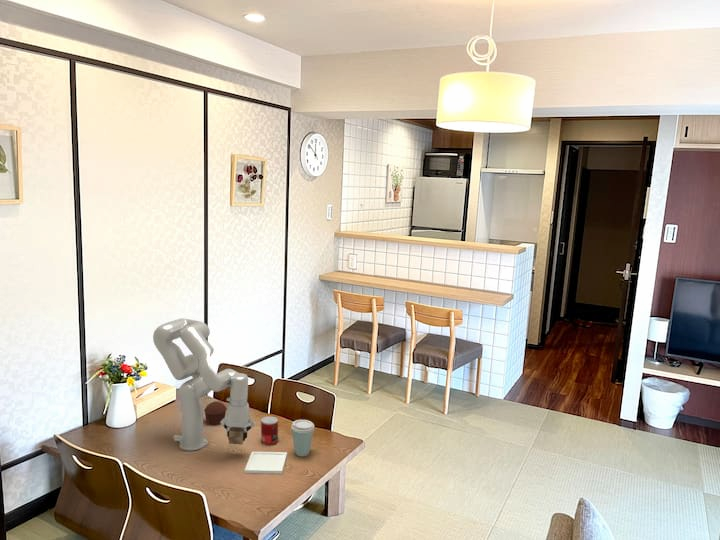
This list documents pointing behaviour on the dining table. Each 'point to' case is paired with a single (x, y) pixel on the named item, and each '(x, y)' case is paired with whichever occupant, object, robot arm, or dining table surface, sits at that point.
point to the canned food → (269, 430)
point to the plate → (266, 462)
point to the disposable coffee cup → (302, 436)
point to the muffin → (215, 413)
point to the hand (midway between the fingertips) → (237, 438)
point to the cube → (236, 435)
